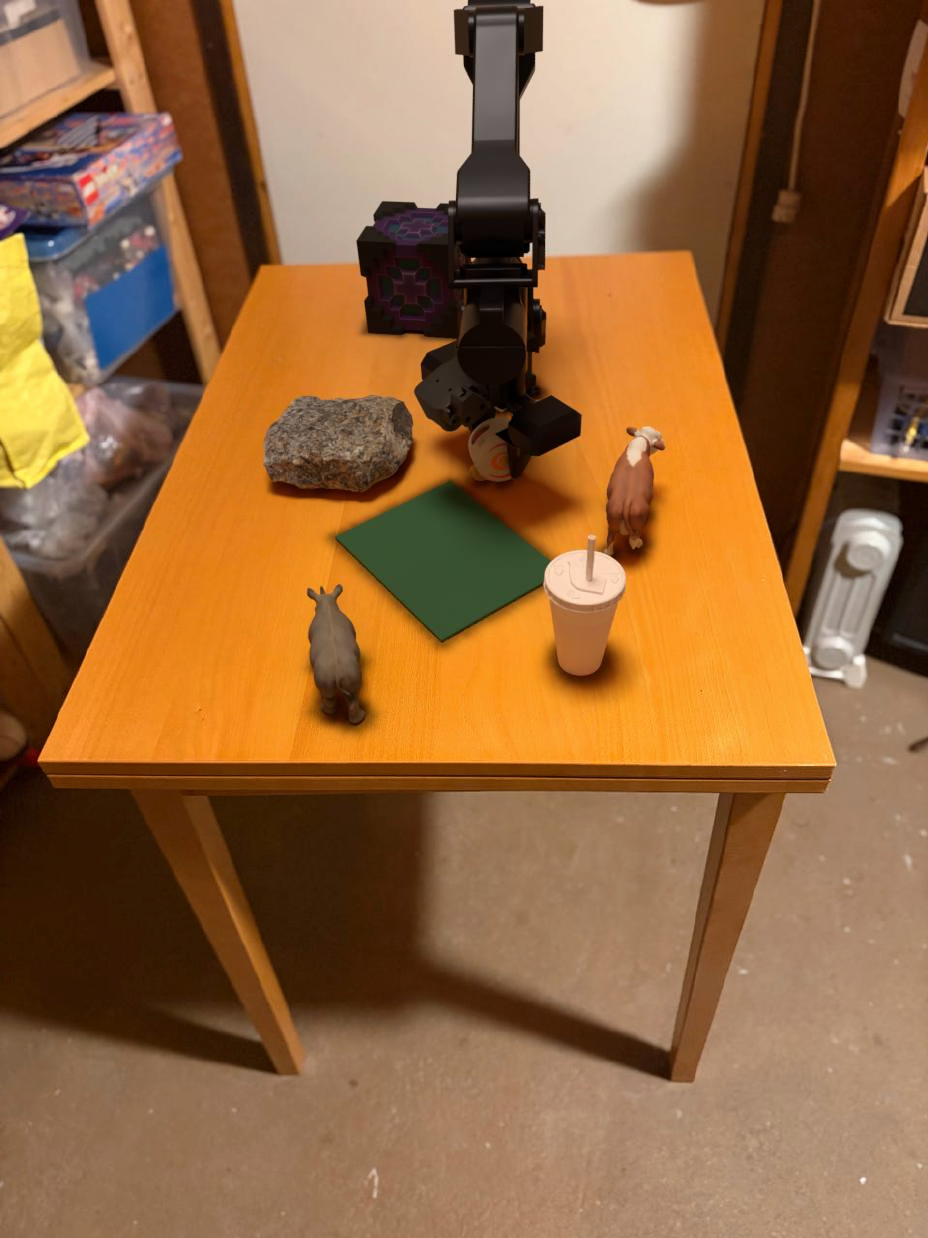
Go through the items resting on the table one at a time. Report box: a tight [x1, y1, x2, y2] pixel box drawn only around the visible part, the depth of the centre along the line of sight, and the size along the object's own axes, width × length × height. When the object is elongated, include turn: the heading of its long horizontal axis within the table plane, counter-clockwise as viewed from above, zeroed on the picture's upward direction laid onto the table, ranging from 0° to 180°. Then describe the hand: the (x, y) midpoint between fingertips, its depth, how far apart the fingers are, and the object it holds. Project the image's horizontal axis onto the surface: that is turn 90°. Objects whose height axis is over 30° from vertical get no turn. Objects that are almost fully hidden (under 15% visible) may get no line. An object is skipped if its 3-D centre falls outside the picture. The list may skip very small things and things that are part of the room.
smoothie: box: [542, 534, 627, 677], centre depth 74 cm, size 6×6×14 cm
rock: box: [262, 394, 414, 493], centre depth 98 cm, size 13×6×15 cm
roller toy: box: [467, 417, 512, 483], centre depth 95 cm, size 4×6×6 cm
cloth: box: [334, 480, 552, 643], centre depth 89 cm, size 14×18×1 cm
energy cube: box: [355, 200, 473, 339], centre depth 119 cm, size 12×12×12 cm
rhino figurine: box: [306, 583, 366, 724], centre depth 77 cm, size 4×14×6 cm, turn 12°
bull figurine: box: [603, 425, 666, 557], centre depth 88 cm, size 4×13×8 cm, turn 161°
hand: (499, 465), depth 97 cm, fingers closed on roller toy, 5 cm apart
